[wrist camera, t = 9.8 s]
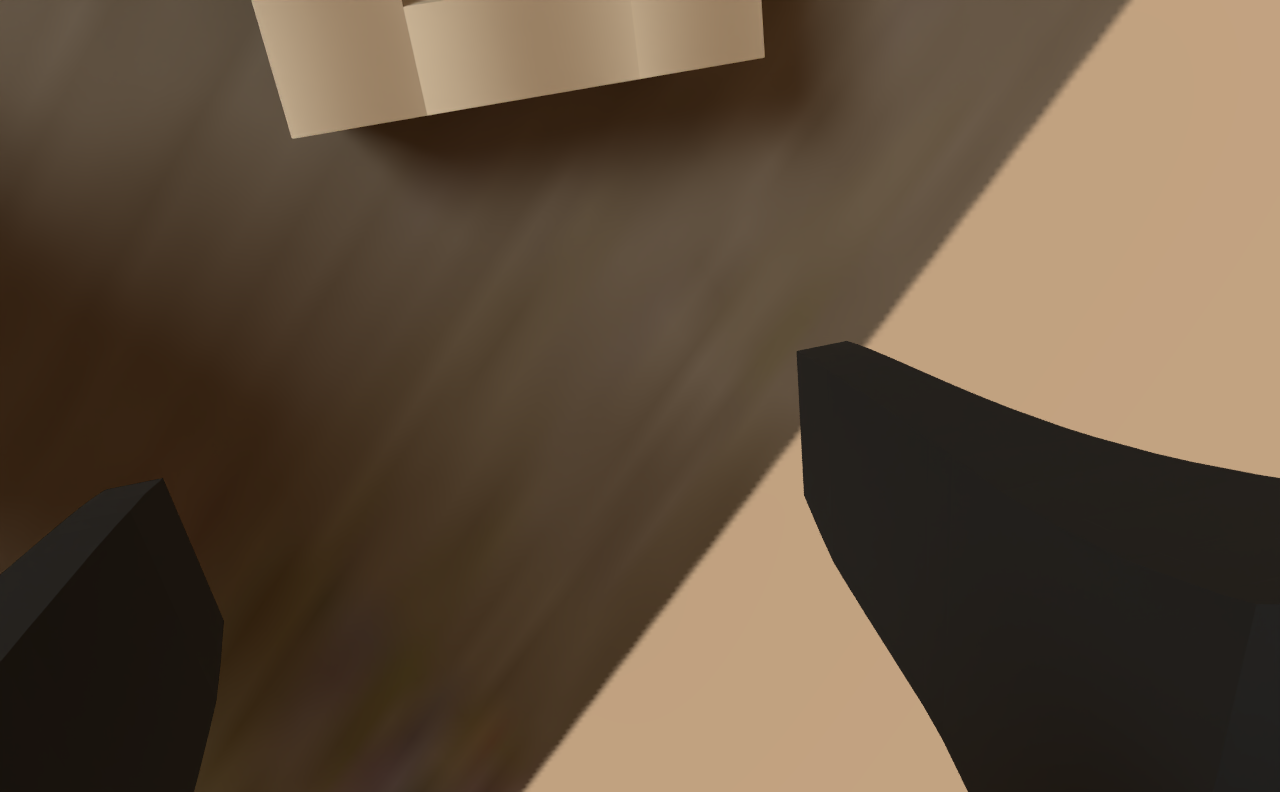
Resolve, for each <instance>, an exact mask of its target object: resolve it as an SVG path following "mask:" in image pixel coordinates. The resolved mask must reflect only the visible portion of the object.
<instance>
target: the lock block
mask: <svg viewBox="0 0 1280 792" xmlns="http://www.w3.org/2000/svg"><path fill="white" fill-rule="evenodd" d="M251 1H252V4H253V7H254V11H255V14H256V18H257V21H258V24H259V28H260V31H261V35H262V38H263V41H264V45H265V48H266V52H267V55H268V58H269V62H270V65H271V69H272V72H273V75H274V79H275V82H276V86H277V89H278V92H279V96H280V99H281V103H282V106H283V109H284V113H285V116H286V120H287V123H288V126H289V130H290V133H291V137H292V139H294V138H299V137H305V136H311V135H317V134H323V133H328V132H334V131H340V130H346V129H352V128H358V127H363V126H369V125H375V124H381V123H387V122H393V121H398V120H404V119H410V118H416V117H422V116H427V115H433V114H439V113H445V112H451V111H457V110H462V109H468V108H474V107H480V106H486V105H491V104H497V103H503V102H509V101H515V100H521V99H526V98H532V97H538V96H544V95H550V94H555V93H561V92H567V91H573V90H579V89H585V88H590V87H596V86H602V85H608V84H614V83H620V82H625V81H631V80H637V79H643V78H649V77H654V76H660V75H666V74H672V73H678V72H684V71H689V70H695V69H701V68H707V67H713V66H718V65H724V64H730V63H736V62H742V61H748V60H753V59H759V58H765V54H764V37H763V19H762V2H761V0H251Z"/></svg>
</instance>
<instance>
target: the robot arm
mask: <svg viewBox="0 0 1280 792" xmlns="http://www.w3.org/2000/svg"><path fill="white" fill-rule="evenodd" d="M797 368H798V387H799V406H800V426H801V445H802V463H803V483H804V496H805V499H806V501H807V503H808V506H809V508H810V510H811V513H812V515H813V517H814V520H815V522H816V524H817V527H818V529H819V531H820V533H821V535H822V538H823V540H824V542H825V544H826V547H827V548H828V551H829V553H830V555H831V558H832V560H833V562H834V564H835V565H836V567H837V568H838V570H839V572H840V574H841V575H842V577H843V579H844V580H845V582H846V583H847V585H848V587H849V588H850V590H851V592H852V593H853V595H854V596H855V598H856V600H857V601H858V603H859V604H860V606H861V608H862V609H863V611H864V612H865V614H866V616H867V617H868V619H869V620H870V622H871V623H872V625H873V627H874V628H875V630H876V631H877V633H878V635H879V636H880V638H881V639H882V641H883V643H884V644H885V646H886V647H887V649H888V650H889V652H890V653H891V655H892V657H893V658H894V660H895V662H896V663H897V665H898V666H899V668H900V670H901V671H902V673H903V674H904V676H905V677H906V679H907V681H908V682H909V684H910V685H911V687H912V689H913V690H914V692H915V693H916V695H917V696H918V698H919V699H920V701H921V703H922V704H923V706H924V708H925V710H926V711H927V713H928V715H929V716H930V718H931V720H932V722H933V724H934V725H935V727H936V729H937V731H938V732H939V734H940V736H941V738H942V740H943V741H944V743H945V746H946V747H947V750H948V752H949V754H950V756H951V758H952V760H953V762H954V764H955V766H956V768H957V770H958V772H959V774H960V776H961V778H962V780H963V782H964V785H965V787H966V788H967V790H968V792H1280V478H1275V477H1268V476H1263V475H1256V474H1252V473H1246V472H1241V471H1236V470H1231V469H1226V468H1220V467H1215V466H1210V465H1205V464H1200V463H1194V462H1189V461H1186V460H1181V459H1177V458H1172V457H1167V456H1164V455H1159V454H1155V453H1151V452H1148V451H1144V450H1140V449H1137V448H1133V447H1129V446H1125V445H1122V444H1118V443H1115V442H1111V441H1107V440H1104V439H1100V438H1096V437H1093V436H1090V435H1086V434H1083V433H1080V432H1077V431H1074V430H1070V429H1067V428H1064V427H1061V426H1058V425H1055V424H1053V423H1050V422H1047V421H1044V420H1041V419H1039V418H1036V417H1033V416H1030V415H1028V414H1025V413H1022V412H1019V411H1016V410H1013V409H1011V408H1008V407H1006V406H1003V405H1000V404H998V403H996V402H993V401H990V400H988V399H985V398H983V397H981V396H978V395H976V394H973V393H971V392H968V391H966V390H964V389H961V388H959V387H957V386H954V385H952V384H950V383H947V382H945V381H943V380H940V379H938V378H936V377H933V376H931V375H929V374H927V373H924V372H922V371H920V370H917V369H915V368H913V367H910V366H908V365H906V364H904V363H902V362H899V361H897V360H895V359H892V358H890V357H887V356H885V355H883V354H880V353H878V352H876V351H873V350H871V349H868V348H866V347H863V346H861V345H858V344H855V343H852V342H848V341H845V342H840V343H835V344H830V345H825V346H820V347H815V348H810V349H805V350H800V351H797ZM223 624H224V620H223V618H222V616H221V613H220V611H219V609H218V606H217V604H216V601H215V599H214V597H213V594H212V592H211V590H210V587H209V585H208V583H207V580H206V578H205V576H204V573H203V571H202V569H201V566H200V564H199V562H198V559H197V557H196V555H195V552H194V550H193V548H192V545H191V543H190V541H189V538H188V536H187V534H186V531H185V529H184V527H183V524H182V522H181V520H180V517H179V515H178V513H177V510H176V508H175V505H174V503H173V501H172V498H171V496H170V494H169V491H168V489H167V487H166V484H165V482H164V480H163V478H162V479H157V480H152V481H147V482H142V483H137V484H132V485H127V486H122V487H117V488H112V489H107V490H104V491H103V492H101V493H100V494H98V495H97V496H95V497H94V498H92V499H91V500H90V501H88V502H87V503H86V504H84V505H83V506H82V507H80V508H79V509H78V510H77V511H75V512H74V513H73V514H71V515H70V516H69V517H68V518H67V519H65V520H64V521H63V522H62V523H61V524H59V525H58V526H57V527H56V528H55V529H53V530H52V531H51V532H50V533H49V534H47V535H46V536H45V537H44V538H43V539H42V540H40V541H39V542H38V543H37V544H36V545H35V546H33V547H32V548H31V549H30V550H29V551H28V552H26V553H25V554H24V555H23V556H22V557H20V558H19V559H18V560H17V561H16V562H15V563H13V564H12V565H11V566H10V567H9V568H8V569H6V570H5V571H4V572H3V573H2V574H1V575H0V792H194V790H195V786H196V782H197V778H198V774H199V770H200V766H201V762H202V758H203V754H204V750H205V746H206V742H207V738H208V734H209V730H210V726H211V721H212V717H213V713H214V708H215V704H216V699H217V690H218V681H219V672H220V663H221V650H222V637H223Z"/></svg>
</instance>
